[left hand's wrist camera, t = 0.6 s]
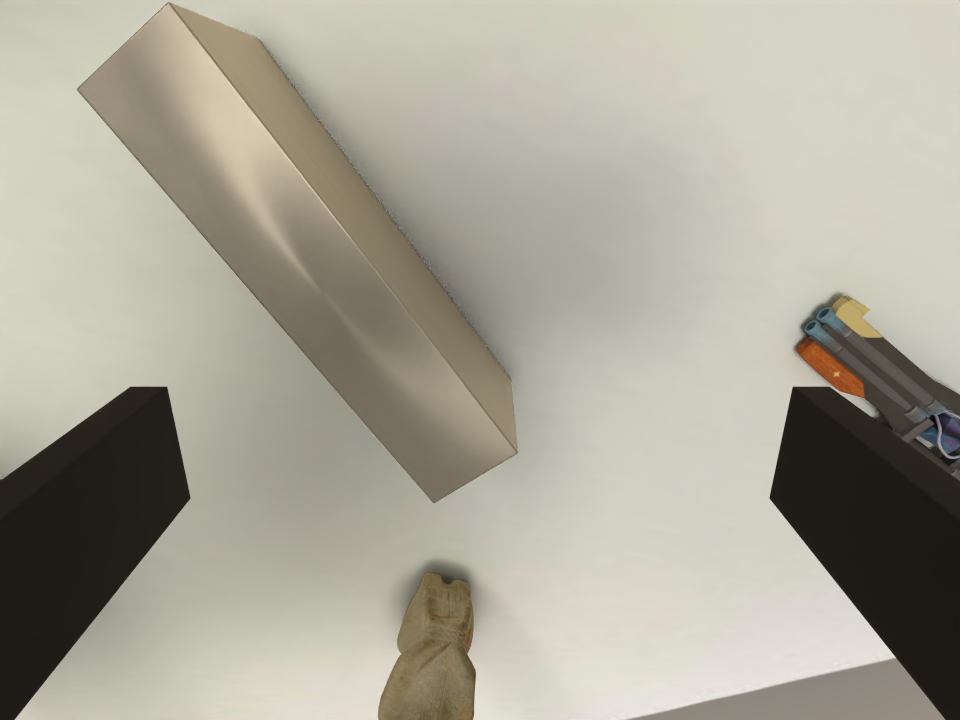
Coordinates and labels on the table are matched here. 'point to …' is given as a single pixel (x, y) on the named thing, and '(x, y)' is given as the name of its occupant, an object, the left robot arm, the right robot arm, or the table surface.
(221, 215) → the bar
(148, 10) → the table surface
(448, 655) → the sculpture
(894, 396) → the toy gun
